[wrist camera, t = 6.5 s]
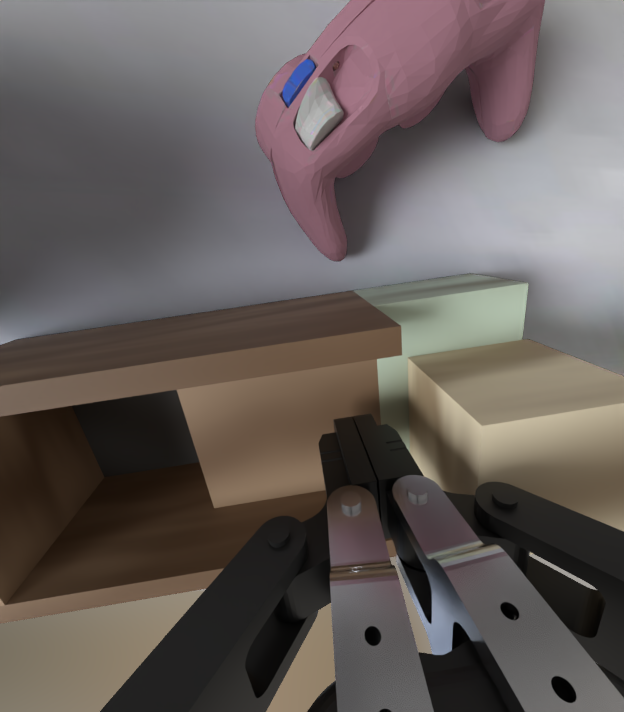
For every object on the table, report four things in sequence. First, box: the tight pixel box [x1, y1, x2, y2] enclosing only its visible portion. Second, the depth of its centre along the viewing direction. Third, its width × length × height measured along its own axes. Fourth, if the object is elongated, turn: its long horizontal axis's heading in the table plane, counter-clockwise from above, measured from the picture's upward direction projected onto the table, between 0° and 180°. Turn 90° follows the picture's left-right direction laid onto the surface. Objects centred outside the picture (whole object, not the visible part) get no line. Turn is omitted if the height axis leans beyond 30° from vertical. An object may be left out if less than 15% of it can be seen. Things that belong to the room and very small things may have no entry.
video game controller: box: [255, 0, 545, 261], centre depth 11 cm, size 10×5×7 cm, turn 125°
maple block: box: [408, 339, 624, 555], centre depth 11 cm, size 5×5×5 cm
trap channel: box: [0, 273, 529, 624], centre depth 14 cm, size 9×22×7 cm, turn 98°
